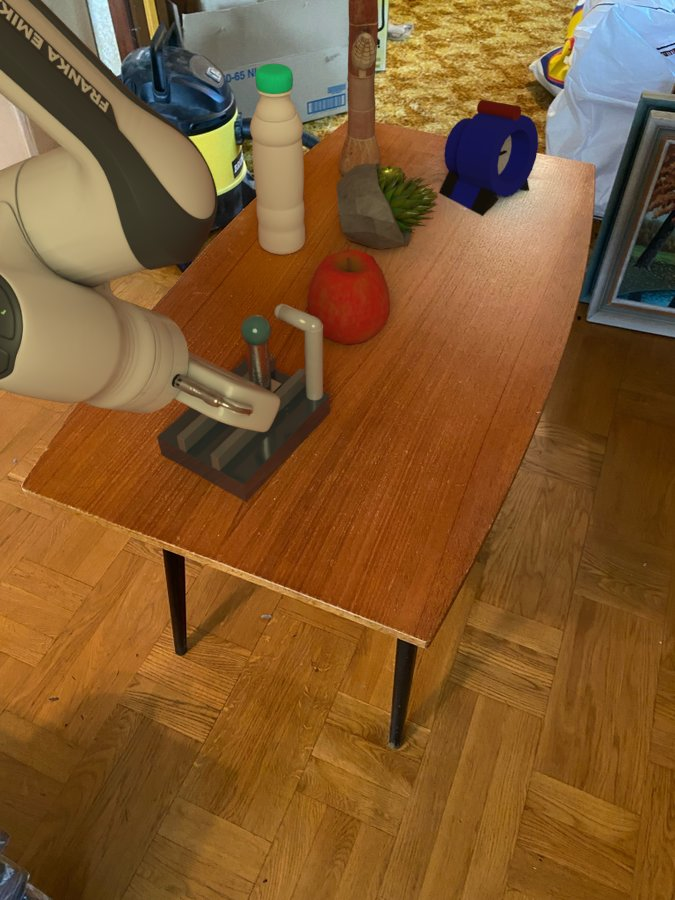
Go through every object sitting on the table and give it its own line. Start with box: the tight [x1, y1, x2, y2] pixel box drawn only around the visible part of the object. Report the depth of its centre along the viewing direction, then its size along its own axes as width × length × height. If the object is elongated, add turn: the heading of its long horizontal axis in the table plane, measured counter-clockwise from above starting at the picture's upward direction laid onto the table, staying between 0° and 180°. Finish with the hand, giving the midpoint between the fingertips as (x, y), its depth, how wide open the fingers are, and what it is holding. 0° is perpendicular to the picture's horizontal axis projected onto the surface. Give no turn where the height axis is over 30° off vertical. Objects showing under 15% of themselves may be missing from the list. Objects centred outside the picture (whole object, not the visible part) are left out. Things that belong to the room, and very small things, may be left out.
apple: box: [306, 249, 391, 346], centre depth 91 cm, size 11×11×11 cm
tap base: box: [156, 303, 331, 503], centre depth 77 cm, size 12×16×14 cm
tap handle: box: [239, 314, 282, 393], centre depth 77 cm, size 3×4×12 cm
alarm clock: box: [438, 99, 539, 217], centre depth 114 cm, size 12×12×15 cm
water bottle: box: [249, 63, 306, 256], centre depth 99 cm, size 7×7×25 cm
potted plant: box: [336, 163, 439, 250], centre depth 105 cm, size 12×13×15 cm
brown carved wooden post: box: [338, 0, 382, 178], centre depth 112 cm, size 10×7×30 cm
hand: (220, 380), depth 72 cm, fingers closed
